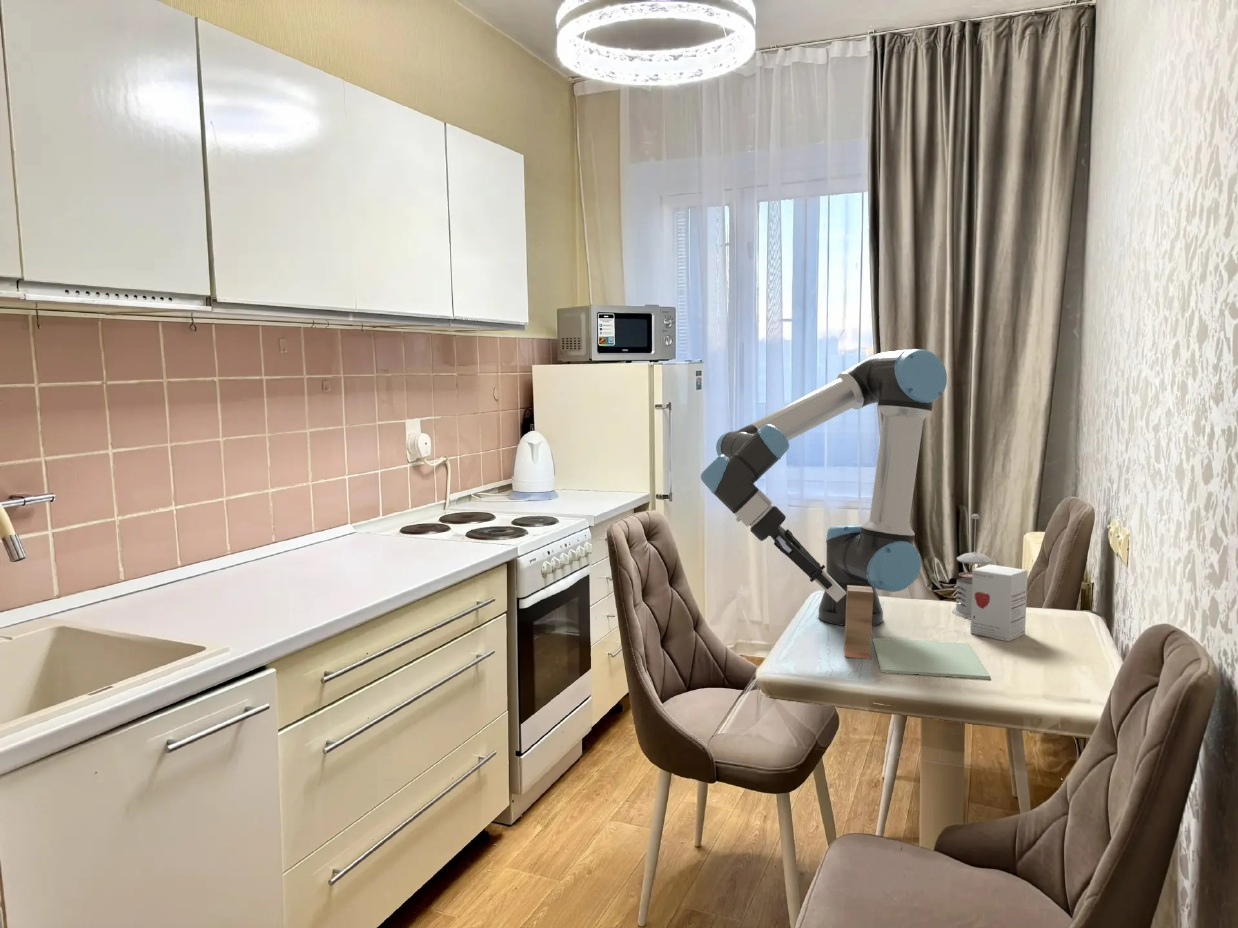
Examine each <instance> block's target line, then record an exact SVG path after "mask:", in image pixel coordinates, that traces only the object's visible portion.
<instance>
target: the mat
mask: <svg viewBox="0 0 1238 928" xmlns="http://www.w3.org/2000/svg"><path fill="white" fill-rule="evenodd" d="M872 642H873V646H874V651H875V654H876V659H877V661H878V662H877V663H878V665H879V669H880V673H881V672H888V673H887V674H897V673H899V674H901V675H913V674H919V675H918V676H931V677H945V676H953V677H952V678H960V677H963V679H976V678H978V679H980V680H981V679H982V680H991V677H992V676H991V674H989V672H988V670H987V668H986V667H985V665H984V664H983V663H982V660H981V659H980V658H979V656H978V654H977V653H976V652H975V650H974V649H973V647H972V645H971V644H970V643H969V642H952V641H935V640H934V641H933V640H915V639H897V638H880V637H872ZM899 674H898V675H899ZM955 676H956V677H955ZM964 677H965V678H964Z"/></svg>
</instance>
